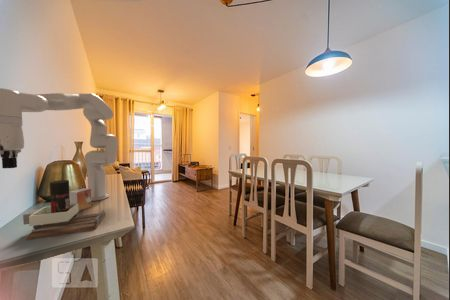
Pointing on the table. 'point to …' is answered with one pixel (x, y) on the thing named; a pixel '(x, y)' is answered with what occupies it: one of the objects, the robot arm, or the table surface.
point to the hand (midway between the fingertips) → (9, 167)
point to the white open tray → (49, 216)
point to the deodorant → (59, 196)
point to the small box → (81, 198)
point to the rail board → (68, 226)
